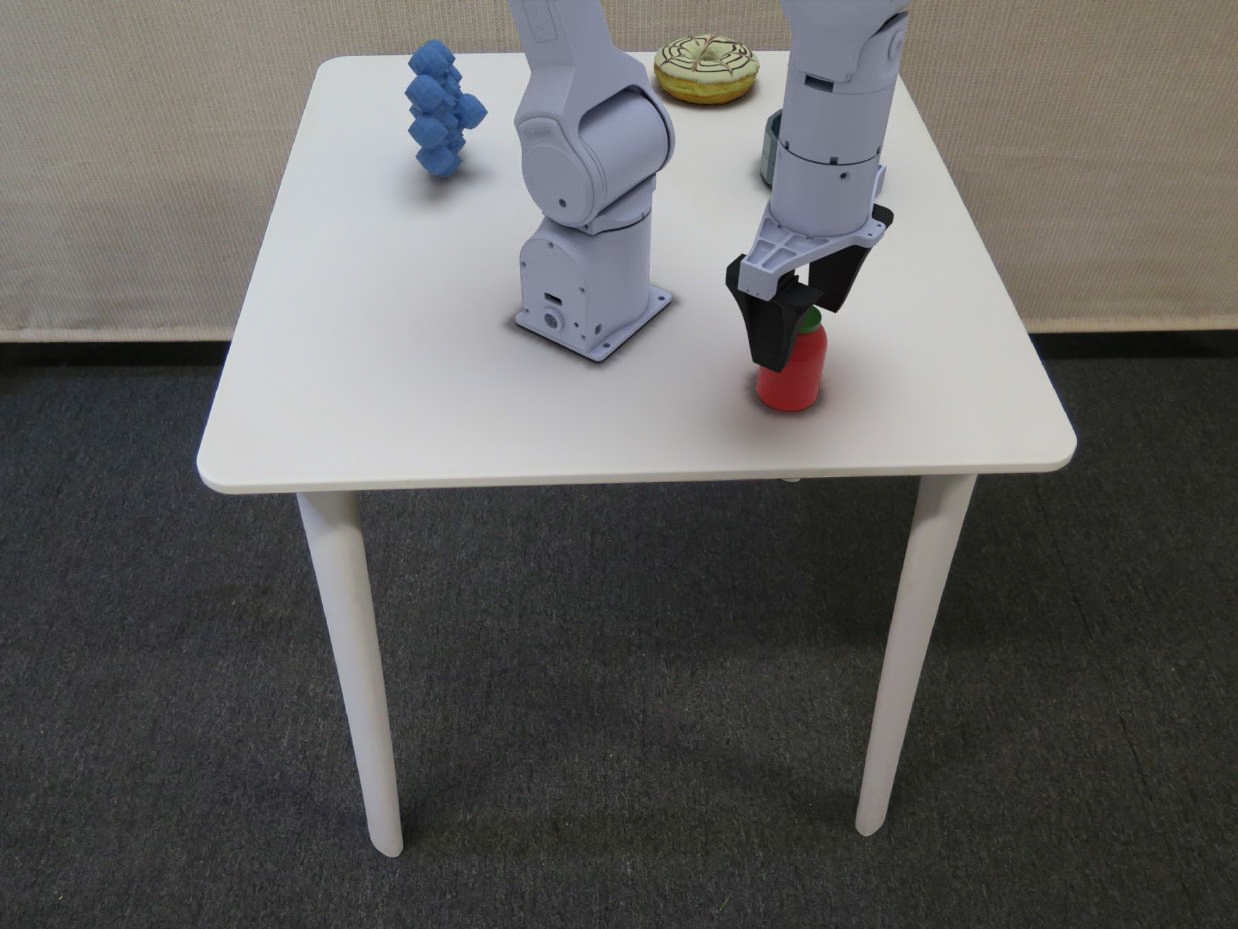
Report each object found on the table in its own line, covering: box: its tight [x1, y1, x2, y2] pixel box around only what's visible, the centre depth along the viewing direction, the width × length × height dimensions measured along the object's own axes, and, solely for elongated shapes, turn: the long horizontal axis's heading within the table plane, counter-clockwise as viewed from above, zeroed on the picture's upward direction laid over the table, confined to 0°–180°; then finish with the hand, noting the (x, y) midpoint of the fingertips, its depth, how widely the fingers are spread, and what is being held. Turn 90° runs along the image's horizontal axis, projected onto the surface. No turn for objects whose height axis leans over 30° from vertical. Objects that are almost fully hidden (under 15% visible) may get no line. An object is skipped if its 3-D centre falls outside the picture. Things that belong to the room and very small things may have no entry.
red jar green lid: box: [755, 305, 828, 412], centre depth 66 cm, size 4×4×6 cm
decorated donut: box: [653, 33, 761, 105], centre depth 99 cm, size 10×11×4 cm
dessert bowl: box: [759, 107, 783, 187], centre depth 87 cm, size 10×10×4 cm
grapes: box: [404, 38, 489, 178], centre depth 84 cm, size 12×7×12 cm, turn 178°
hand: (797, 334), depth 65 cm, fingers open, 7 cm apart
